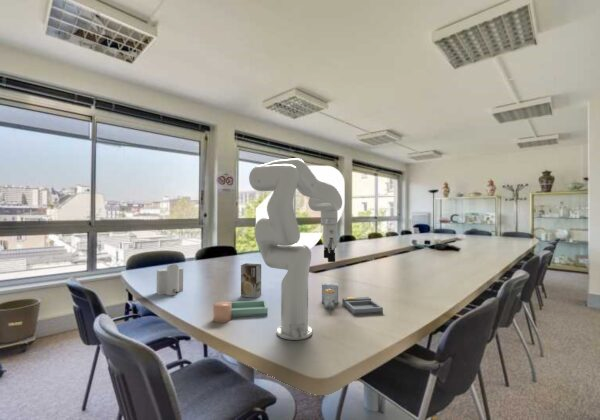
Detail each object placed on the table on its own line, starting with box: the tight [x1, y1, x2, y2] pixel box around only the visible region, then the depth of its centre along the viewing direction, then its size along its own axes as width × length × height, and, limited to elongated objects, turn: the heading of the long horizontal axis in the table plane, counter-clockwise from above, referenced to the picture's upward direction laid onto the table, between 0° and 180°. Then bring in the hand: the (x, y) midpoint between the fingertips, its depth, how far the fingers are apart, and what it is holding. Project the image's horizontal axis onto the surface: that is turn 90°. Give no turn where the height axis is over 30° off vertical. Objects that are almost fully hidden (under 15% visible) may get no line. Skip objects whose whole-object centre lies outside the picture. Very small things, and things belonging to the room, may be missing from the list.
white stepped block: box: [156, 263, 184, 296], centre depth 152 cm, size 12×14×15 cm
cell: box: [323, 289, 335, 311], centre depth 130 cm, size 4×4×8 cm
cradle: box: [341, 296, 384, 316], centre depth 129 cm, size 14×13×3 cm
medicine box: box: [321, 282, 339, 304], centre depth 139 cm, size 8×4×9 cm, turn 84°
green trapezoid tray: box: [230, 299, 269, 319], centre depth 124 cm, size 11×16×3 cm
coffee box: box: [240, 262, 262, 299], centre depth 149 cm, size 9×6×16 cm
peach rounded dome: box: [212, 301, 232, 324], centre depth 115 cm, size 7×7×6 cm
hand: (329, 259), depth 131 cm, fingers open, 9 cm apart
